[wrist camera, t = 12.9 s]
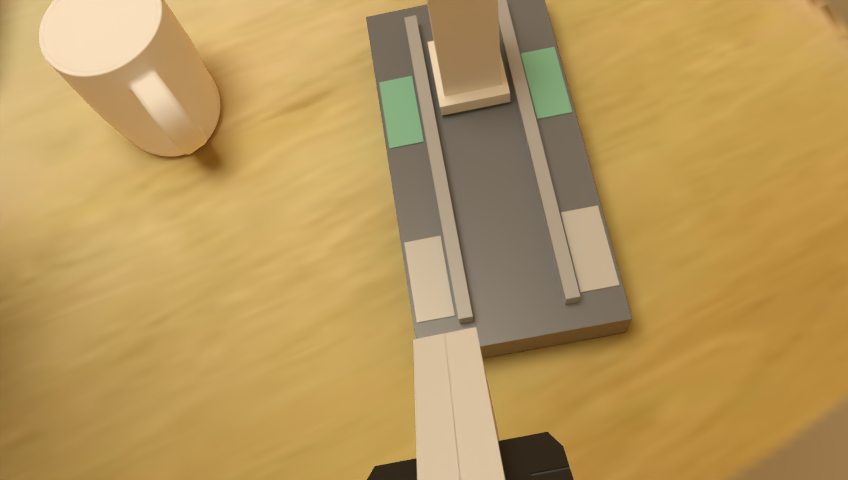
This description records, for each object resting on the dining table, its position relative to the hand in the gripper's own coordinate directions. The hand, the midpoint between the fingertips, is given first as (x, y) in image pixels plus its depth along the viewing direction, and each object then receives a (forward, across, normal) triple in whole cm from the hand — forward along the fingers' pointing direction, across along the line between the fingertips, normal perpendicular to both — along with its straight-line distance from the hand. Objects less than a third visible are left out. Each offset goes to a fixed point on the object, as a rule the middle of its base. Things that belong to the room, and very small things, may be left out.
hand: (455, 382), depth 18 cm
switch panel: (+31, +3, -5) cm, 32 cm away
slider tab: (+33, +3, +1) cm, 33 cm away
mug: (+38, -18, +2) cm, 42 cm away
